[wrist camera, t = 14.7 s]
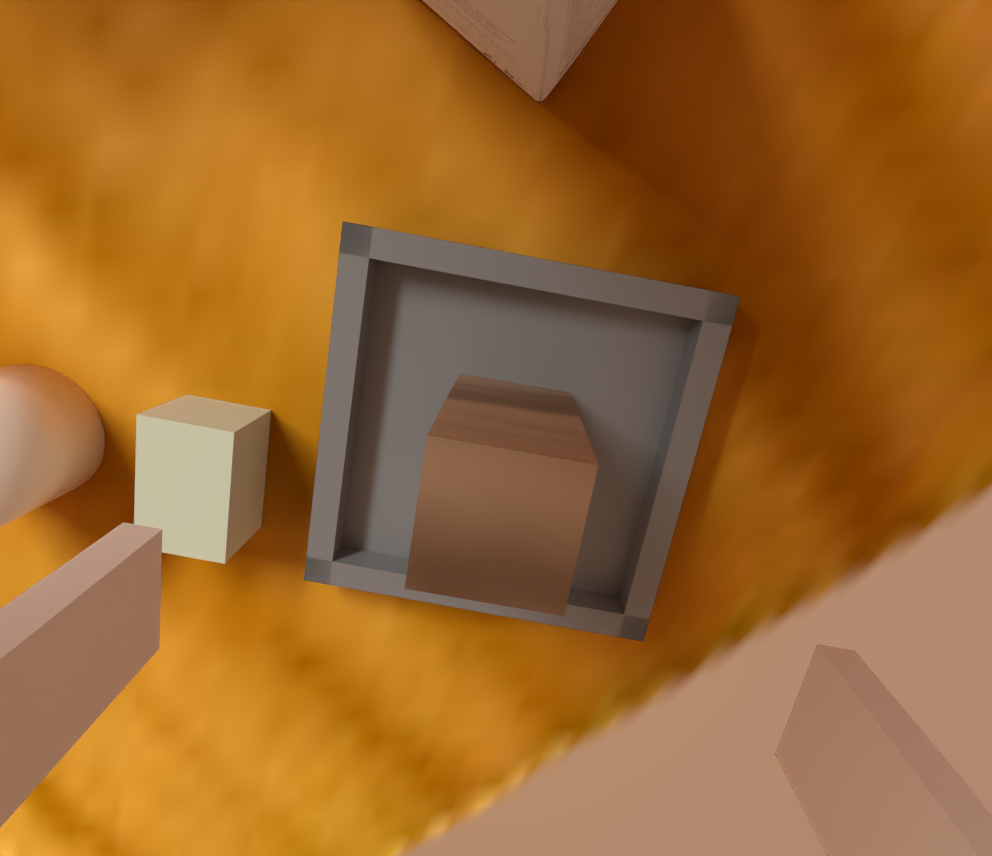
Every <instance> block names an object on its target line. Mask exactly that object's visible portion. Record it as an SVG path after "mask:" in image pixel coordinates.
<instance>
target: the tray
mask: <svg viewBox="0 0 992 856" xmlns="http://www.w3.org/2000/svg"><path fill="white" fill-rule="evenodd" d="M740 297H741V296H737V295H731V294H726V293H721V292H715V291H710V290H705V289H699V288H694V287H689V286H683V285H678V284H673V283H668V282H662V281H657V280H652V279H646V278H641V277H636V276H630V275H625V274H620V273H614V272H609V271H604V270H598V269H593V268H588V267H582V266H577V265H572V264H567V263H561V262H556V261H551V260H545V259H540V258H535V257H529V256H524V255H519V254H513V253H508V252H503V251H497V250H492V249H487V248H482V247H476V246H471V245H466V244H460V243H455V242H450V241H444V240H439V239H434V238H428V237H423V236H418V235H412V234H407V233H402V232H397V231H391V230H386V229H381V228H375V227H370V226H365V225H359V224H354V223H349V222H343V224H342V233H341V243H340V252H339V261H338V270H337V279H336V289H335V298H334V307H333V316H332V326H331V335H330V344H329V353H328V362H327V372H326V381H325V390H324V399H323V408H322V418H321V427H320V436H319V445H318V455H317V464H316V473H315V482H314V491H313V501H312V510H311V519H310V528H309V537H308V547H307V556H306V565H305V574H304V580H306V581H312V582H317V583H323V584H329V585H334V586H340V587H345V588H351V589H356V590H362V591H367V592H373V593H378V594H384V595H389V596H395V597H400V598H406V599H411V600H417V601H422V602H428V603H433V604H439V605H444V606H450V607H455V608H461V609H466V610H472V611H477V612H483V613H488V614H494V615H499V616H505V617H510V618H516V619H521V620H527V621H533V622H538V623H544V624H549V625H555V626H560V627H566V628H571V629H577V630H582V631H588V632H593V633H599V634H604V635H610V636H615V637H621V638H626V639H632V640H637V641H644V637H645V633H646V630H647V626H648V623H649V619H650V616H651V612H652V609H653V605H654V602H655V598H656V594H657V591H658V587H659V584H660V580H661V577H662V573H663V570H664V566H665V563H666V559H667V555H668V552H669V548H670V545H671V541H672V538H673V534H674V531H675V527H676V524H677V520H678V516H679V513H680V509H681V506H682V502H683V499H684V495H685V492H686V488H687V485H688V481H689V477H690V474H691V470H692V467H693V463H694V460H695V456H696V453H697V449H698V446H699V442H700V438H701V435H702V431H703V428H704V424H705V421H706V417H707V414H708V410H709V407H710V403H711V399H712V396H713V392H714V389H715V385H716V382H717V378H718V375H719V371H720V368H721V364H722V360H723V357H724V353H725V350H726V346H727V343H728V339H729V336H730V332H731V329H732V325H733V321H734V318H735V314H736V311H737V307H738V304H739V300H740ZM460 373H461V374H466V375H472V376H478V377H483V378H489V379H495V380H500V381H506V382H512V383H517V384H523V385H529V386H534V387H540V388H546V389H551V390H557V391H563V392H568V393H571V395H572V397H573V400H574V403H575V405H576V408H577V410H578V413H579V416H580V418H581V421H582V423H583V426H584V429H585V431H586V434H587V436H588V439H589V442H590V444H591V447H592V449H593V452H594V455H595V457H596V460H597V463H598V470H597V474H596V478H595V483H594V487H593V492H592V496H591V500H590V505H589V509H588V513H587V518H586V522H585V527H584V531H583V535H582V540H581V544H580V548H579V553H578V557H577V562H576V566H575V570H574V575H573V579H572V583H571V588H570V592H569V597H568V601H567V605H566V610H565V614H564V616H559V615H554V614H548V613H542V612H536V611H531V610H525V609H519V608H513V607H508V606H502V605H496V604H490V603H484V602H479V601H473V600H467V599H461V598H456V597H450V596H444V595H438V594H432V593H427V592H421V591H415V590H409V589H404V588H405V581H406V574H407V567H408V560H409V554H410V547H411V540H412V533H413V527H414V520H415V513H416V506H417V500H418V493H419V486H420V479H421V472H422V466H423V459H424V452H425V445H426V439H427V434H428V432H429V430H430V429H431V427H432V425H433V423H434V421H435V419H436V417H437V415H438V413H439V412H440V410H441V408H442V406H443V404H444V402H445V400H446V398H447V397H448V395H449V393H450V391H451V389H452V387H453V385H454V383H455V381H456V380H457V378H458V376H459V374H460Z"/></svg>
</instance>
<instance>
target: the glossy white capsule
mask: <svg viewBox="0 0 992 856" xmlns="http://www.w3.org/2000/svg"><path fill="white" fill-rule="evenodd" d="M104 448H105V434H104V429H103V424H102V421H101V418H100V416H99V413H98V411H97V409H96V407H95V406H94V404H93V402H92V401H91V399H90V398H89V397H88V396H87V394H86V393H85V392H84V391H83V390H82V389H81V388H80V387H79V386H78V385H77V384H76V383H74V382H73V381H72V380H71V379H69V378H68V377H66V376H65V375H63V374H61V373H59V372H57V371H55V370H53V369H50V368H47V367H44V366H40V365H34V364H16V365H10V366H5V367H0V527H1V526H3V525H5V524H7V523H9V522H11V521H13V520H15V519H17V518H19V517H21V516H23V515H25V514H27V513H29V512H30V511H32V510H34V509H36V508H38V507H40V506H42V505H44V504H46V503H48V502H50V501H52V500H54V499H56V498H58V497H60V496H62V495H64V494H66V493H68V492H69V491H71V490H73V489H75V488H77V487H79V486H81V485H82V484H84V483H85V482H87V481H88V480H89V479H90V478H91V477H92V476H93V475H94V473H95V472H96V471H97V469H98V467H99V466H100V463H101V461H102V458H103V454H104Z"/></svg>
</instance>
